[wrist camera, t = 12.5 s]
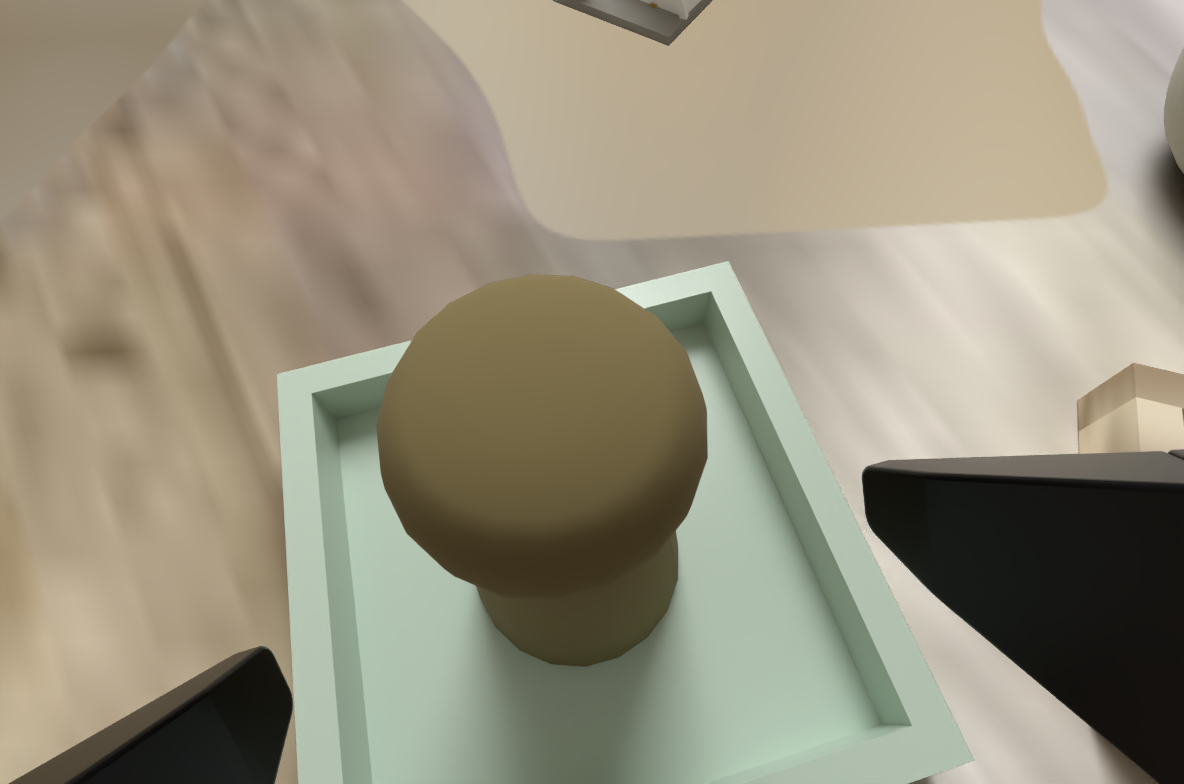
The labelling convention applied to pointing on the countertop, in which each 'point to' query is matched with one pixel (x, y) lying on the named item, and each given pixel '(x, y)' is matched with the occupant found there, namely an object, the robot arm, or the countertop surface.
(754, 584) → the sage green tray
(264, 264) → the countertop surface
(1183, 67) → the grey bottle
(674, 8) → the skyscraper
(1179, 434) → the wooden collar
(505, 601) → the cork
